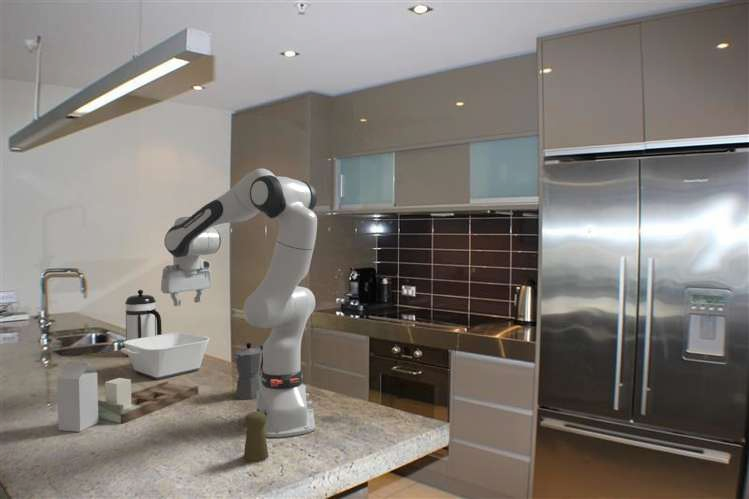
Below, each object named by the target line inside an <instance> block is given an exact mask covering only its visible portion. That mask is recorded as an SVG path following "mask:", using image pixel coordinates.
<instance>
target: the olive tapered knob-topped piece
mask: <svg viewBox="0 0 749 499" xmlns="http://www.w3.org/2000/svg"><path fill="white" fill-rule="evenodd" d="M265 424H266V415H265V414H264V413H262V412H256V411H252V412H249V413H247V414H246V415H245V416H244V425H245V427H246V434H245V441H244V442H245V444H244V451H243V461H244V462H246V463H249V462H258V463H260V462H259V461H262V460H264V461H266V460H267V459H269V450H268V443H267V437H266V435H265V429H264V425H265ZM266 458H267V459H266ZM265 459H266V460H265ZM262 462H263V461H262Z"/></svg>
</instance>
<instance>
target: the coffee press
mask: <svg viewBox="0 0 749 499" xmlns="http://www.w3.org/2000/svg"><path fill="white" fill-rule="evenodd" d="M143 293H144V291H143V289H139V290H138V291H137V294H136V295H131V296H128V297H127V298H126V300H125V301H124V304H125V307H126V308H125V336H126V338H125V339H126V340H125V341H127V340H132V339H138V338H144V337H150V336H156V335H162V318H161V314H160V312H158V311H157V309H156V302H157V300H156V299H155V297H154V296H153V295H150V294H143ZM123 356H124V357H127V356H129V355H128V354H125V353H123Z"/></svg>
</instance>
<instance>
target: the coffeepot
mask: <svg viewBox="0 0 749 499" xmlns="http://www.w3.org/2000/svg"><path fill="white" fill-rule="evenodd" d="M245 345H246V348H244V349H240V350H239V349H238V350H237V351H235V352H234V357H235V363H236V364H235V365H236V370H237V373H238V379H237V383H236V391H235V398H237V399H239V400H254V398H255V399H257V391H258V390H259V389H260V388H261V387H262V379H261V375H260V371H261V370H263V345H259V346H256V347H254V348H253V347H252V343H250V342H247V343H246V344H245Z"/></svg>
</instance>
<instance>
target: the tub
mask: <svg viewBox="0 0 749 499" xmlns="http://www.w3.org/2000/svg"><path fill="white" fill-rule="evenodd" d="M209 342H210V338H209V337H208V336H206V335H202V334H192V333H188V332H170V333H163V334H162V335H157V334H156V336H150V337H144V338H138V339H132V340H127V341H126V340H124V341H123V342H122V344H123V346H124V347H122V348H120V352H121V353H122V354H125V355H127V354H128V355H127V356H128V358H129V359H130V362H131V364H132V367H133V369H134V371H135V372H136V373H137V374H141V375H144V376H146V377H149V378H151V379H155V380H157V381H159V380H163V379H167V378H171V377H176V376H181V375H183V374H184V375H186V374H189V373H193V372H197V371H198V370H200V368H201V365H202V362H203V358H204V356H205V353H206V350H207V347H208V344H209Z"/></svg>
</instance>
